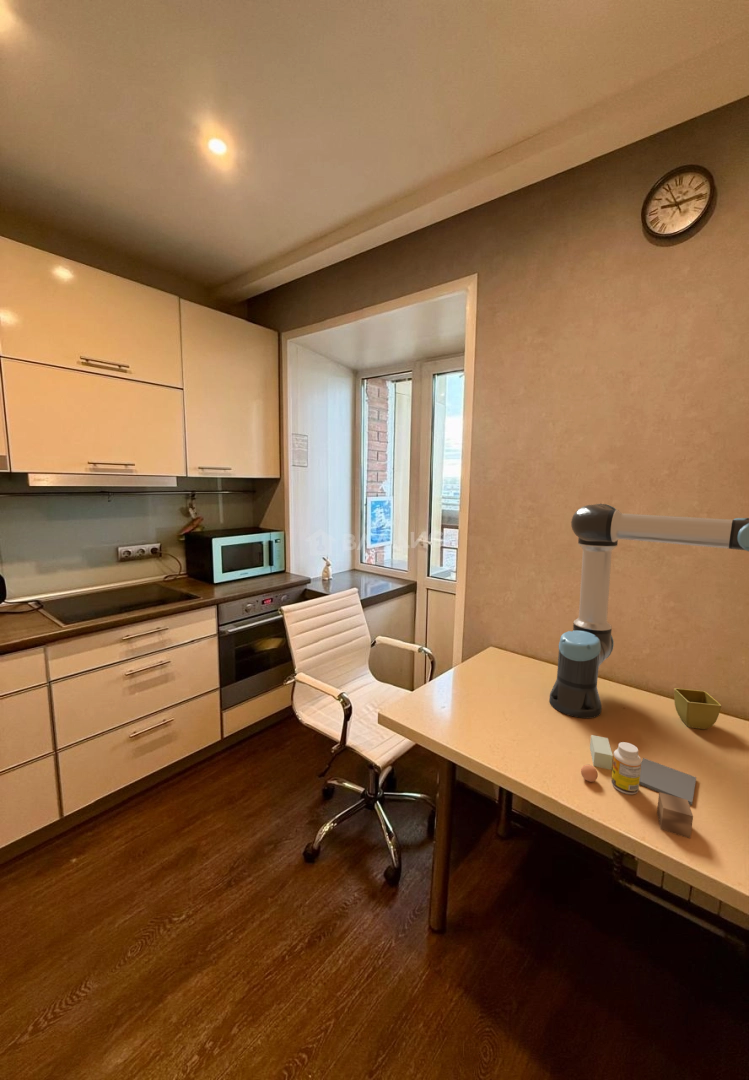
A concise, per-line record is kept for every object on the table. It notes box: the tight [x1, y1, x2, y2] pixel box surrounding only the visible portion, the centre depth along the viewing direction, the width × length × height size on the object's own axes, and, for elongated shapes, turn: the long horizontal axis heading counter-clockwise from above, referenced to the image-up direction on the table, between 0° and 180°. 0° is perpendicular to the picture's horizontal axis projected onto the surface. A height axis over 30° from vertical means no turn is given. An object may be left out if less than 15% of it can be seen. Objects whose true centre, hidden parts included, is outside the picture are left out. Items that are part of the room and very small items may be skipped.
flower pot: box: [673, 687, 722, 730], centre depth 126 cm, size 9×9×9 cm
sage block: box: [589, 734, 614, 771], centre depth 109 cm, size 4×8×4 cm, turn 159°
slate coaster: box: [639, 757, 697, 807], centre depth 101 cm, size 11×11×1 cm
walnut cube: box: [656, 792, 694, 839], centre depth 88 cm, size 5×5×5 cm
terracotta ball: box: [580, 764, 599, 783], centre depth 101 cm, size 4×4×4 cm
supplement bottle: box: [611, 741, 642, 795], centre depth 98 cm, size 6×6×10 cm
